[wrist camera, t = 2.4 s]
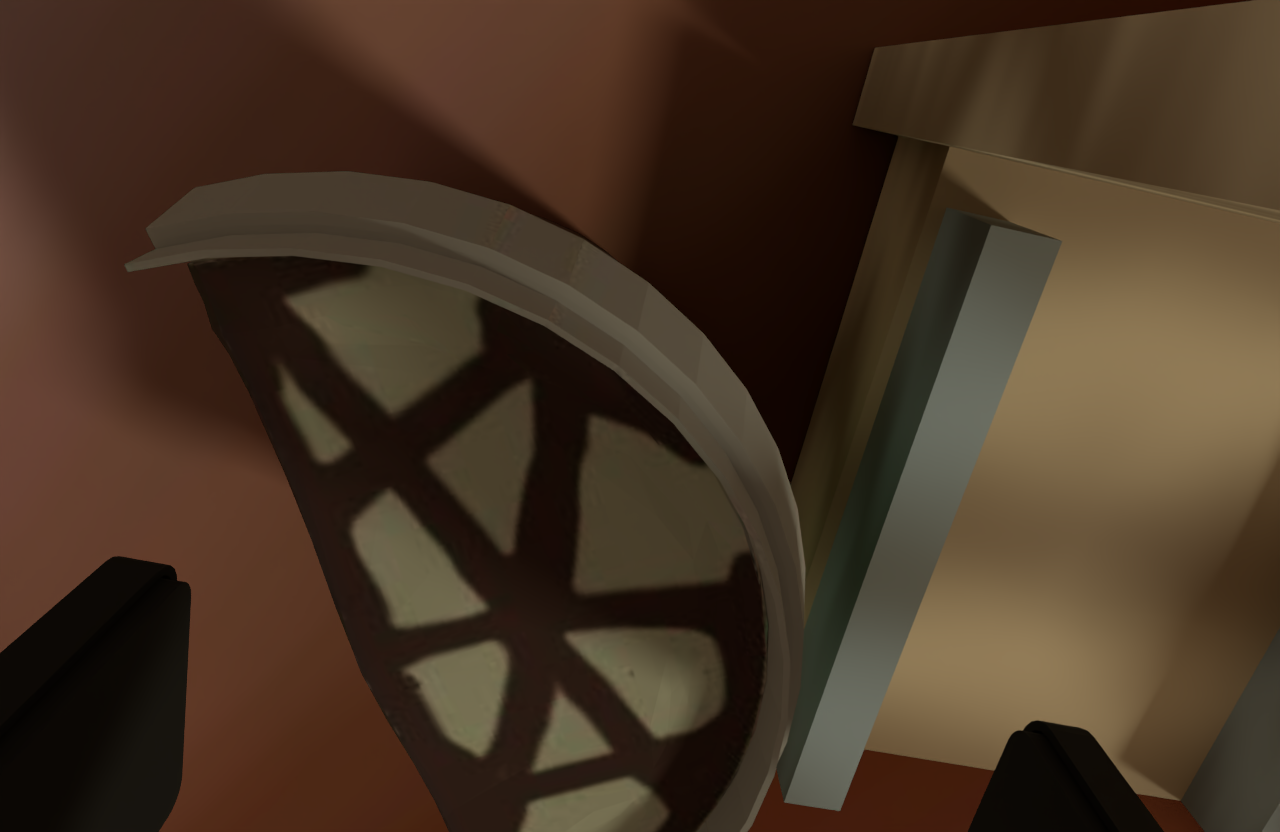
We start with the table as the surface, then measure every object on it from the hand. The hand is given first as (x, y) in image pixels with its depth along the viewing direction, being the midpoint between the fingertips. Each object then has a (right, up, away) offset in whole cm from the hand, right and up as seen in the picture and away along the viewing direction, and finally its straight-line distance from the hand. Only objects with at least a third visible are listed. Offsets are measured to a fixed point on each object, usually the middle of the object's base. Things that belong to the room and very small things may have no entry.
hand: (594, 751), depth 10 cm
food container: (0, +5, +10) cm, 11 cm away
